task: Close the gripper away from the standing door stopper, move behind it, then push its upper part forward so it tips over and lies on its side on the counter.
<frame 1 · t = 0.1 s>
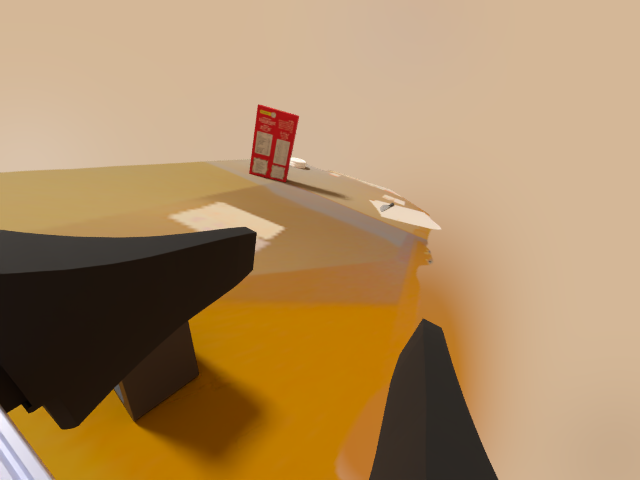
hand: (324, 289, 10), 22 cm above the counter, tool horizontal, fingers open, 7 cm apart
coaster: (296, 166, 134), on the counter
food packaging: (268, 177, 101), on the counter
door stopper: (147, 368, 26), on the counter
chef's knife: (384, 208, 106), on the counter
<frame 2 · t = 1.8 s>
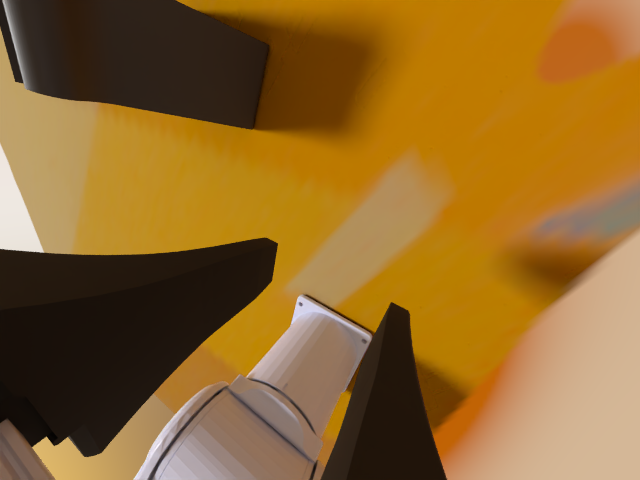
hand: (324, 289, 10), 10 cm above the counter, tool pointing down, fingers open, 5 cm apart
door stopper: (223, 71, 20), on the counter
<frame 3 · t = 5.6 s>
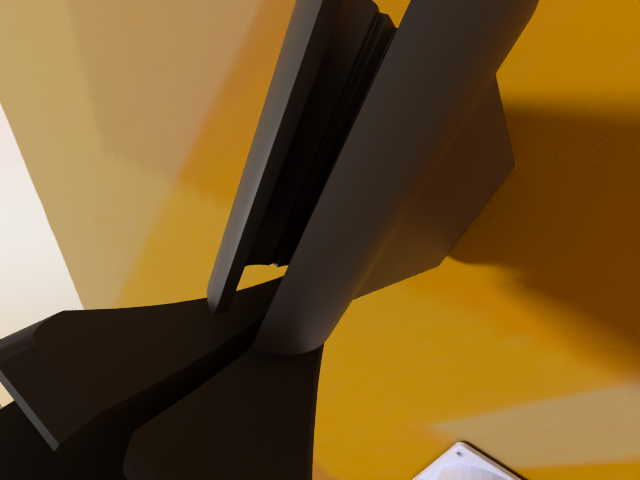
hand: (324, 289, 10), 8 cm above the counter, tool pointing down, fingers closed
door stopper: (396, 180, 14), on the counter
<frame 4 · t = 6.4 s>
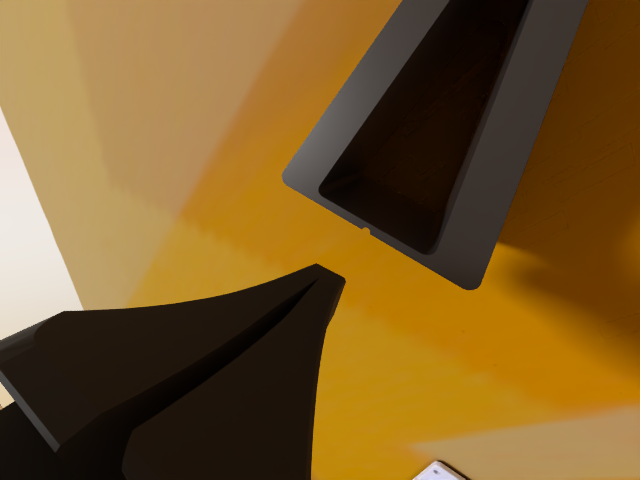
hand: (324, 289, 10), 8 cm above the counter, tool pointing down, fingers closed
door stopper: (382, 215, 12), point 3 cm above the counter
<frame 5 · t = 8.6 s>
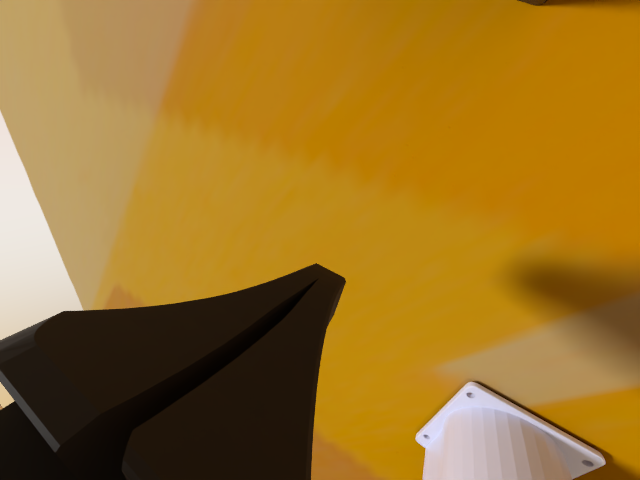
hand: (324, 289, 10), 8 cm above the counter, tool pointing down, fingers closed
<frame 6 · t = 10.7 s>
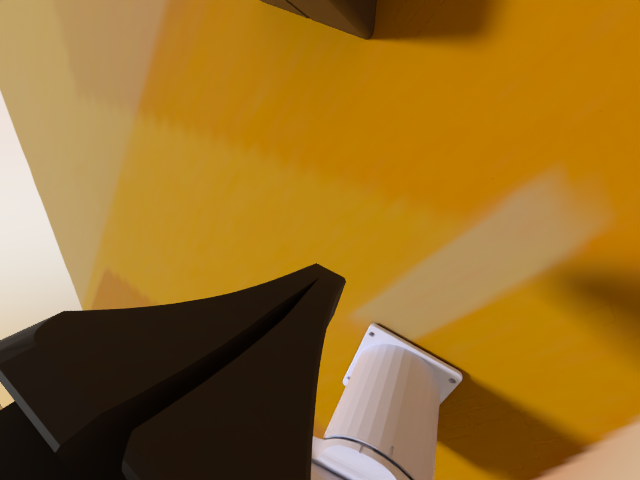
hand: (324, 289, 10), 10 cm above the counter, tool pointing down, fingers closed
door stopper: (282, 2, 14), point 3 cm above the counter
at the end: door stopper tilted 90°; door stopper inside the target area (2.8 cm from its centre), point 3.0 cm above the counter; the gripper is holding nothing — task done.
